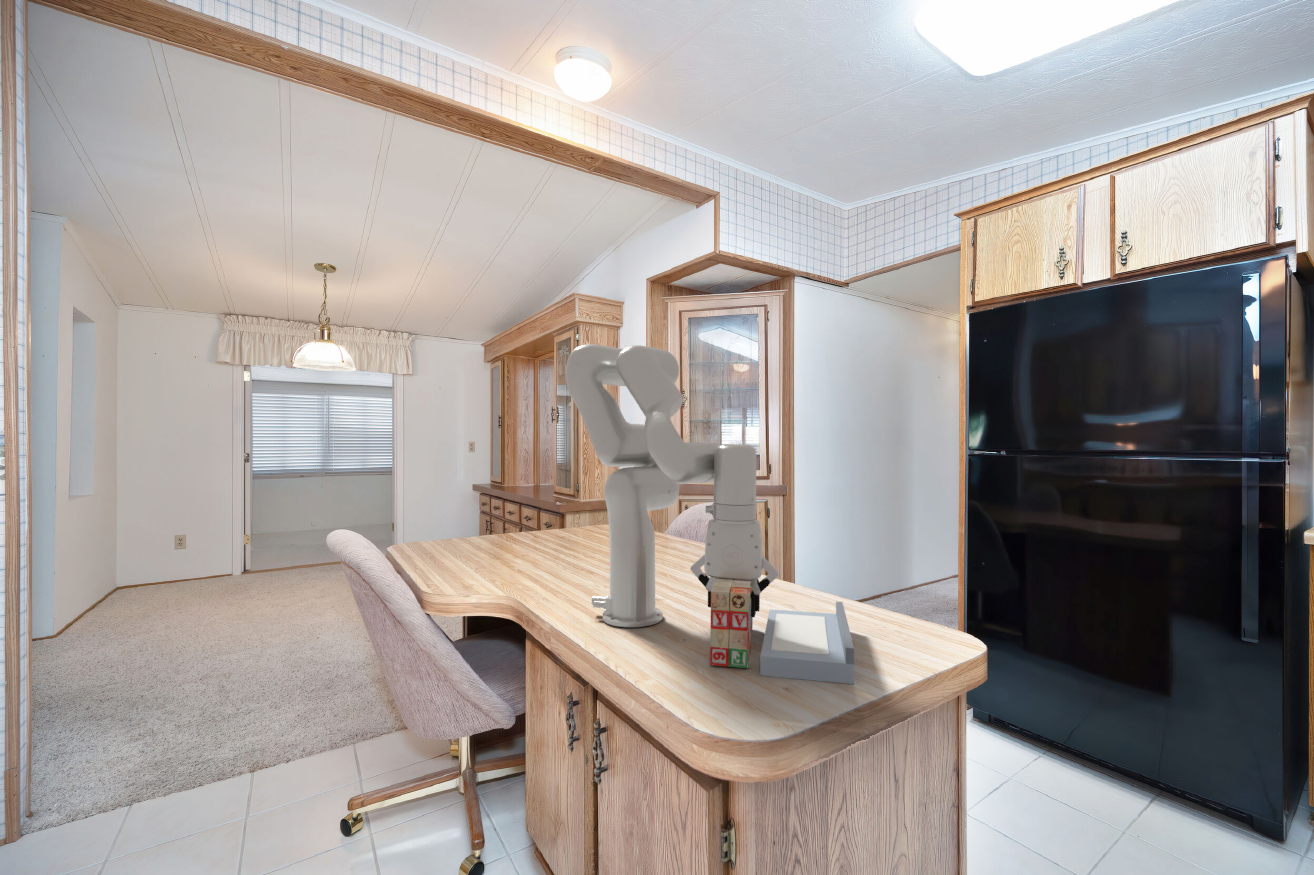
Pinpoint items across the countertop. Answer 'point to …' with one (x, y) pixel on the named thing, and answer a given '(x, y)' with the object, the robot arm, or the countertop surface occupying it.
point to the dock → (808, 646)
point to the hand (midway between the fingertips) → (733, 612)
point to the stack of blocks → (731, 623)
